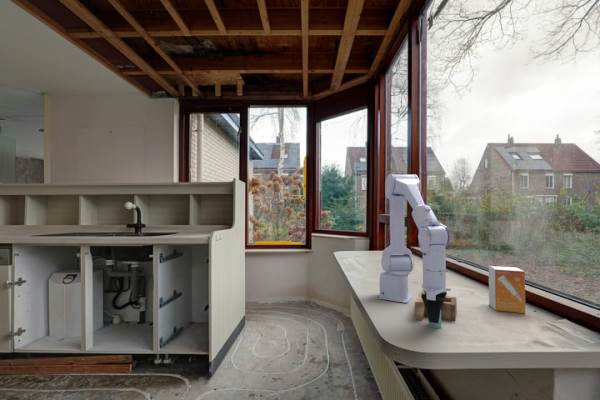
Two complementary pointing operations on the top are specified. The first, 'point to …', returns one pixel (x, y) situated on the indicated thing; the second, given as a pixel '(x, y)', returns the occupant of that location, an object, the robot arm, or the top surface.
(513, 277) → the small box
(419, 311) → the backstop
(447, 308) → the block
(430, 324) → the dowel
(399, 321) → the top surface
